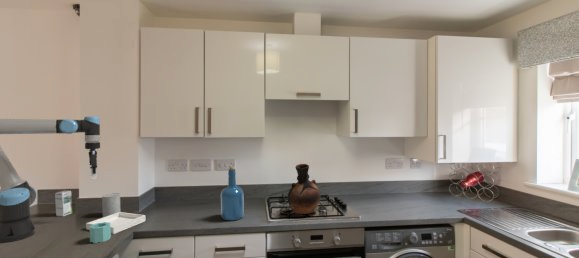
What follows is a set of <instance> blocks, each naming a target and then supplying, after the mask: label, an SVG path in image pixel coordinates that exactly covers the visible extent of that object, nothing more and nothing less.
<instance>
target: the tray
mask: <svg viewBox="0 0 579 258" xmlns="http://www.w3.org/2000/svg"><path fill="white" fill-rule="evenodd" d="M102 222H108V223H110V232H111V235H112V234H113V235H115V234H117V233H120V232H122V231H125V230H127V229H129V228H132V227H135V226H136V225H139V224H141V223H144V222H146V215H145V214H138V213H129V212H124V211H123V212H122V211H120V212H118V213H115V214H112V215H109V216H106V217H103V216H102V217H101V218H98V219H94V220H92V221H88V222H86V223H85V230H88V231H90V226H91V225H94V224H97V223H102Z"/></svg>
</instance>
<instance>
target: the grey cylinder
mask: <svg viewBox="0 0 579 258" xmlns="http://www.w3.org/2000/svg"><path fill="white" fill-rule="evenodd" d="M101 201H102V205H101V206H102V208H101V209H102V218H103V217H106V216H109V215H112V214H115V213H118V212H121V193H118V192H112V193H105V194H103V195H101Z"/></svg>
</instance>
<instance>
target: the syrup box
mask: <svg viewBox="0 0 579 258" xmlns="http://www.w3.org/2000/svg"><path fill="white" fill-rule="evenodd" d="M54 200H55V214H56V216H57V217H65V216H68V215H71V214H73V203H72V202H73V201H72V191H71V190H61V191H57V192H55V193H54Z"/></svg>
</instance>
